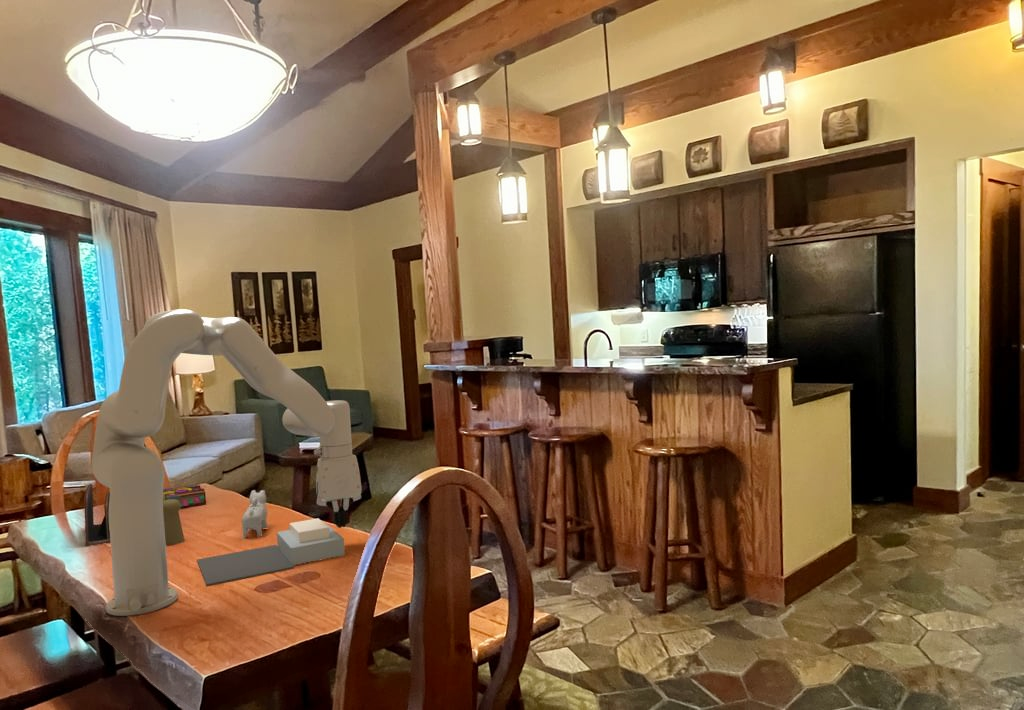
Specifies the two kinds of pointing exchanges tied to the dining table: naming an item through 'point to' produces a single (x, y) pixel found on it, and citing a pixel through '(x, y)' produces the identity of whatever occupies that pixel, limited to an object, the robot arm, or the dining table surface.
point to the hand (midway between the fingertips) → (340, 526)
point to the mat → (243, 564)
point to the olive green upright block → (172, 522)
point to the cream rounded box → (309, 530)
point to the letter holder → (93, 532)
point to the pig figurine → (255, 514)
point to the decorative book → (186, 495)
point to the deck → (310, 547)
